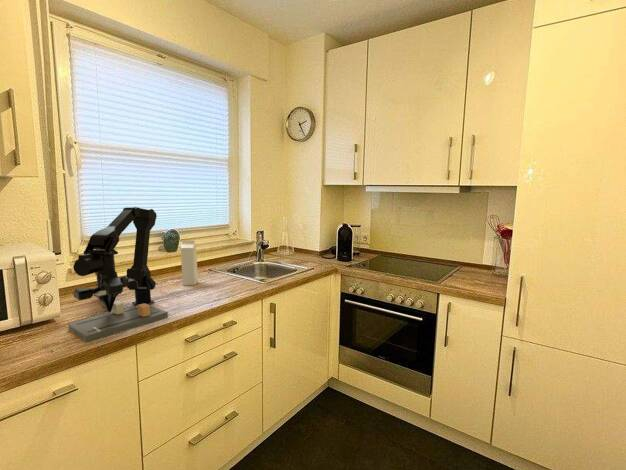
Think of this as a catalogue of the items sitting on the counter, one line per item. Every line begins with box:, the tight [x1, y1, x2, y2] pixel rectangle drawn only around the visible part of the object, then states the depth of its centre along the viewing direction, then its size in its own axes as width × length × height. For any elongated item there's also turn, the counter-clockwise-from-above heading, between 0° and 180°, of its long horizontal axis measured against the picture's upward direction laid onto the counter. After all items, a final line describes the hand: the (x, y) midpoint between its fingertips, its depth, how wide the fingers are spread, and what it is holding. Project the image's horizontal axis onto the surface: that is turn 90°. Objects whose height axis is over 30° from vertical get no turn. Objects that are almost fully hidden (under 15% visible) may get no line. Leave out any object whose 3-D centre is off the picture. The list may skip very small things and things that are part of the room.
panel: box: [67, 303, 169, 343], centre depth 116 cm, size 16×26×2 cm, turn 142°
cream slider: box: [111, 300, 125, 314], centre depth 120 cm, size 4×2×4 cm, turn 52°
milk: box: [180, 240, 199, 286], centre depth 166 cm, size 6×6×22 cm
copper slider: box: [137, 303, 151, 317], centre depth 117 cm, size 4×2×4 cm, turn 52°
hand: (109, 311), depth 118 cm, fingers closed
